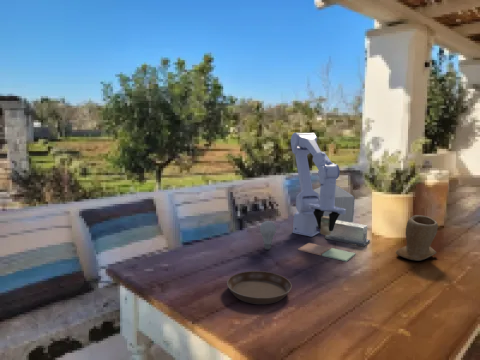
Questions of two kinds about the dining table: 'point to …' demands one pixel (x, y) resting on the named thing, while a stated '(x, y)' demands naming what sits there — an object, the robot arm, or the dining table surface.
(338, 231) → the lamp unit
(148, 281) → the dining table surface
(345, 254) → the sage pad
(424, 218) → the stone cup
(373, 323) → the dining table surface
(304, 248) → the terracotta pad
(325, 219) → the fuse
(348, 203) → the decorative block
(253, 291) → the plant saucer
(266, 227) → the lightbulb
